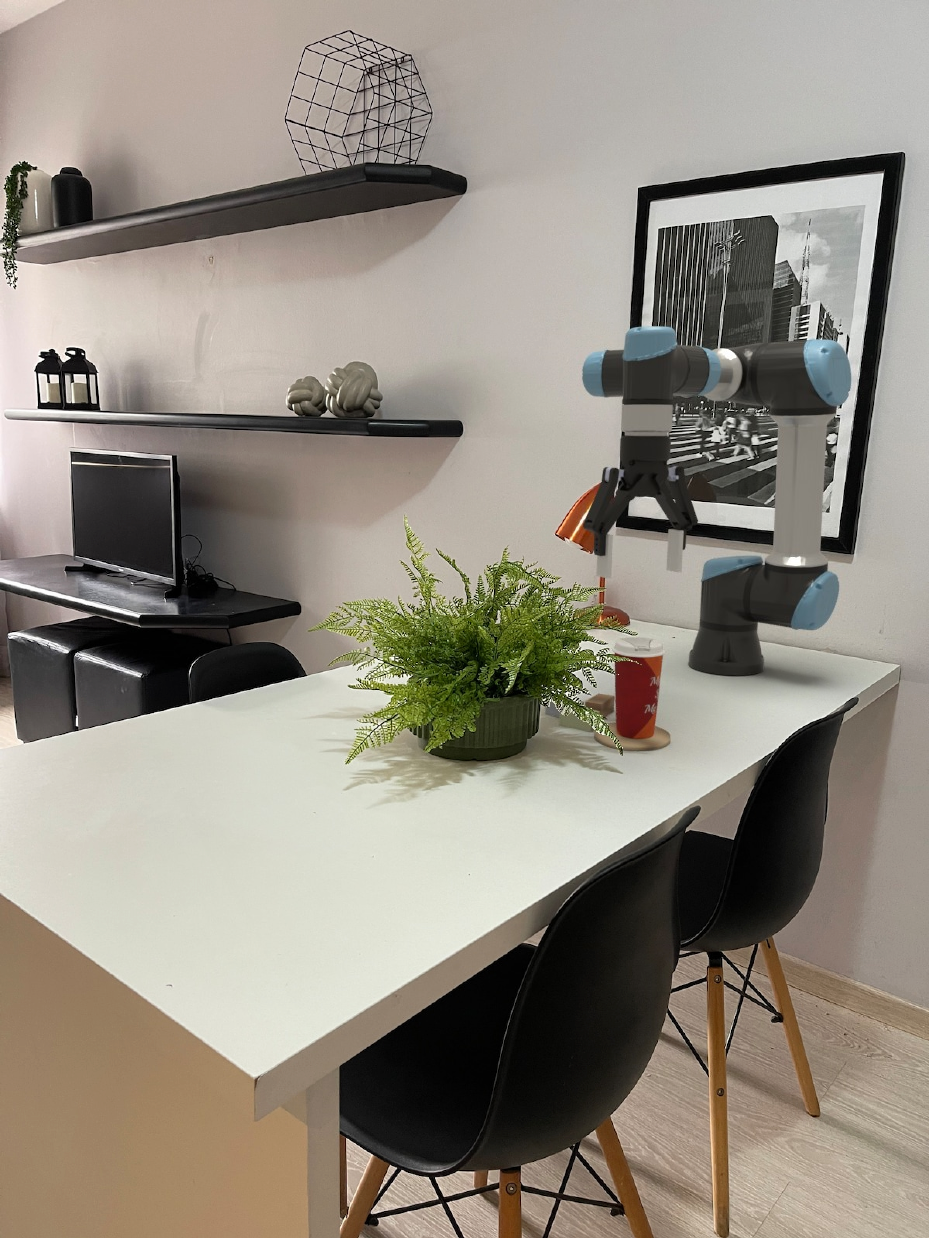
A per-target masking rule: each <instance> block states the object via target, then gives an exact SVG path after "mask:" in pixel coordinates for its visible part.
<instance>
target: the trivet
mask: <svg viewBox="0 0 929 1238" xmlns="http://www.w3.org/2000/svg"><path fill="white" fill-rule="evenodd" d="M607 724H608V726H609V729H610V730H611V732H613V734H614V735H615V736H616V738H617V739H618V740H619V743H620V744H621V746H622V747H623V751H631V752H647V751H648V752H649V751H657V750H659V749H663V748H665V747H667V746H668V745H669V744H671V734H670V732H669V731H667V730H666V729H664V728H663V727H659V726H656V725H655V730H654V735H653V736H652V737H650V738H645V739H632V738H626V737H623V736H620V735H618V734H617V731H616V721H615V722H609V723H607ZM594 740H596V742H597V743H598V744H601V745H603V746H605V747H609V748H611V749H616V750H618V749H617V747H616V744H615V743H614V742H613V740H612V739H611V738H610V737H609V736H607V735H602V734H599V733H598V732H596V730H594Z"/></svg>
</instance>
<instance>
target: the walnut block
mask: <svg viewBox="0 0 929 1238" xmlns="http://www.w3.org/2000/svg"><path fill="white" fill-rule="evenodd" d="M585 706H586V707H588V708H592V710H596V711H600V714H601V715H603V717H605V718H606V717H608V716H609V715H611V714H612V713H614V712H615V695H612V694H605V693H600V692H598V693H596V694H595V695H594V696H592V697H591V698H589V699H587V700H586V701H584V707H585Z"/></svg>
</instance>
